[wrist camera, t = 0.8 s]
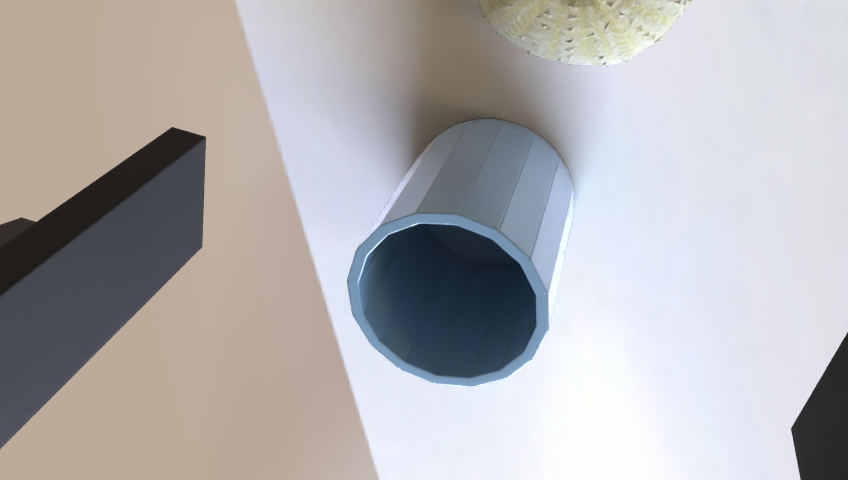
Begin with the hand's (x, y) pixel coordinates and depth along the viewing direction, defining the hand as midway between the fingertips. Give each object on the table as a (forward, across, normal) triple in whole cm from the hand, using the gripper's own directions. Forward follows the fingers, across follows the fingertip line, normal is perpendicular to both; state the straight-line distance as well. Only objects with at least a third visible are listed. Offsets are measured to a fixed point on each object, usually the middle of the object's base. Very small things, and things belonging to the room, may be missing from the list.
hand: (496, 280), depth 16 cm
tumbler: (+22, -2, -10) cm, 24 cm away
